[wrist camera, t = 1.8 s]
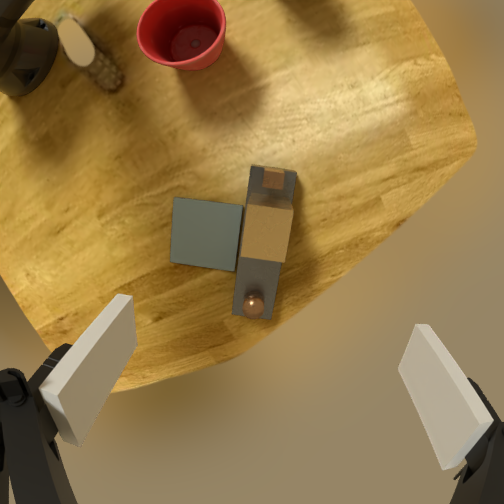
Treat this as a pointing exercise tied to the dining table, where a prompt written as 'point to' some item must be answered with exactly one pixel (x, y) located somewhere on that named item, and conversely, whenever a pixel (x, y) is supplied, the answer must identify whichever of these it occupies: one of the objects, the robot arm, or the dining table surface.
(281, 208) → the tan wooden block
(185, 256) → the mat
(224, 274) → the dining table surface
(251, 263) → the plane body
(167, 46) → the flower pot
